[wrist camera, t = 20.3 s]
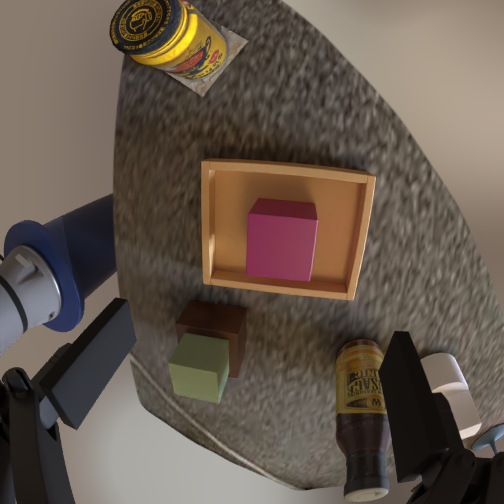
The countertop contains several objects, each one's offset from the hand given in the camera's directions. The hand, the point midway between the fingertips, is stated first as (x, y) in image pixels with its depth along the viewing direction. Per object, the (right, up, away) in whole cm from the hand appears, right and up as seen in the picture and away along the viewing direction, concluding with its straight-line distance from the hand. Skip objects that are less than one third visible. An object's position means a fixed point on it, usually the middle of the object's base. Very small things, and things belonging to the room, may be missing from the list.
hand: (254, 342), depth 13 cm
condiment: (-6, +25, +10) cm, 27 cm away
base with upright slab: (+26, -14, +21) cm, 36 cm away
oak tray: (+3, +7, +16) cm, 18 cm away
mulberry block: (+3, +7, +15) cm, 17 cm away
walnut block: (-4, -5, +23) cm, 24 cm away
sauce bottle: (+13, -9, +21) cm, 27 cm away
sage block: (-5, -7, +18) cm, 20 cm away
